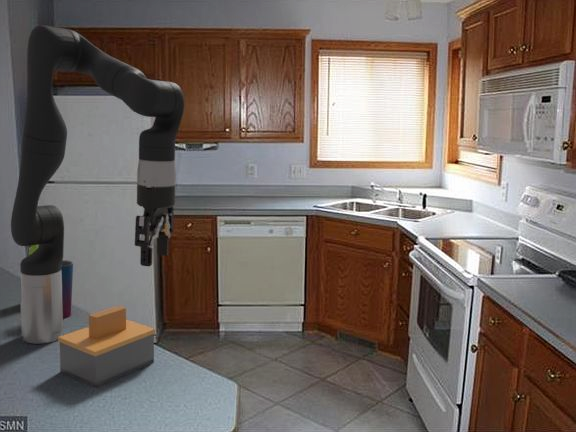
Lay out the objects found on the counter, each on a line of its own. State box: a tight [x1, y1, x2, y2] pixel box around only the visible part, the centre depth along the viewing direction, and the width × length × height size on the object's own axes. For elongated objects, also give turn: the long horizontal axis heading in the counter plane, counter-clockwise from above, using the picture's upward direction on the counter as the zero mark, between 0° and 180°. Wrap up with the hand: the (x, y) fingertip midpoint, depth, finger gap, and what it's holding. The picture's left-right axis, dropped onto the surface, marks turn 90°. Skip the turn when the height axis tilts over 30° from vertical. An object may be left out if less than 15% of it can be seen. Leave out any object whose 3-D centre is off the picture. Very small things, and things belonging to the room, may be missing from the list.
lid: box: [58, 305, 156, 356], centre depth 125 cm, size 12×16×7 cm
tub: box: [59, 333, 155, 388], centre depth 126 cm, size 12×16×7 cm
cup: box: [61, 260, 74, 319], centre depth 155 cm, size 7×7×15 cm
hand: (154, 260), depth 116 cm, fingers open, 8 cm apart
